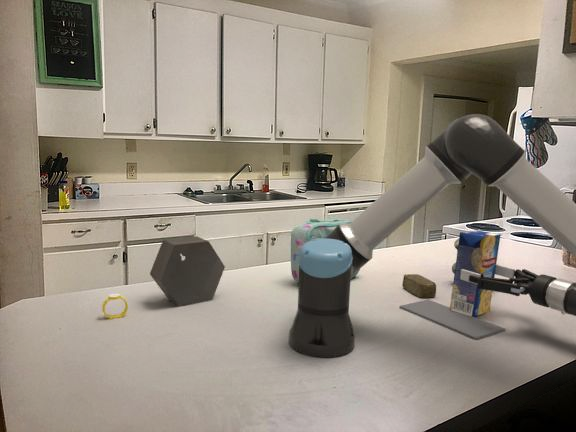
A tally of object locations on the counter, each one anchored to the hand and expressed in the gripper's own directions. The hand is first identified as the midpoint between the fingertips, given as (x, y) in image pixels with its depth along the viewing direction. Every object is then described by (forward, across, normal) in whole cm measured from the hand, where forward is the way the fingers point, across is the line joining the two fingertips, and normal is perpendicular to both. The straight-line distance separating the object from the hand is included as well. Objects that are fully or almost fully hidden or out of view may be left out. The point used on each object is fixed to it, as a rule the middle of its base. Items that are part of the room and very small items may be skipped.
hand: (477, 271), depth 134 cm
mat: (0, -10, -12) cm, 16 cm away
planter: (+45, -67, -12) cm, 82 cm away
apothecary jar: (+16, +20, -12) cm, 28 cm away
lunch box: (+43, -20, -12) cm, 48 cm away
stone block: (+20, -1, -12) cm, 23 cm away
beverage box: (+1, 0, -12) cm, 12 cm away
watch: (+41, -88, -12) cm, 98 cm away
